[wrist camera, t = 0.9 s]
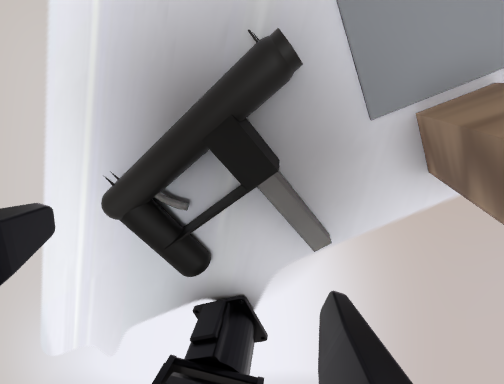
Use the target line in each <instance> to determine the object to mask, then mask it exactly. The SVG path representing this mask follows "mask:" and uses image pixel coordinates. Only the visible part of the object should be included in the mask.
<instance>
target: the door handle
mask: <svg viewBox="0 0 504 384" xmlns="http://www.w3.org/2000/svg"><path fill="white" fill-rule="evenodd" d="M248 32H249V33H250V34H251V36H252V37H253V39H254V40H255V41H256V44H255V45H254V46H253V47H252V48H251V49H250V50H249V51H248V52H247V53H246V54H245V55H244V56H243V57H242V58H241V59H240V60H239V61H238V62H237V63H236V64H235V65H234V66H233V67H232V68H231V69H230V70H229V71H228V72H227V73H226V74H225V75H224V76H223V77H222V78H221V79H220V80H219V81H218V82H217V83H216V84H215V85H214V86H213V87H212V88H211V89H210V90H209V91H208V92H207V93H206V94H205V95H204V96H203V97H202V98H201V99H200V100H199V101H198V102H197V103H196V104H195V105H194V106H193V107H192V108H191V109H190V110H189V111H188V112H187V113H186V114H185V115H184V116H182V117H181V118H180V119H179V120H178V121H177V122H176V123H175V124H174V125H173V126H172V127H171V128H170V129H169V130H168V131H167V132H166V133H165V134H164V135H163V136H162V137H161V138H160V139H159V140H158V141H157V142H156V143H155V144H154V145H153V146H152V147H151V148H150V149H149V150H148V151H147V152H146V153H145V154H144V155H143V156H142V157H141V158H140V159H139V160H138V161H137V162H136V163H135V164H134V165H133V166H132V167H131V168H130V169H129V170H128V171H127V172H126V173H125V174H124V175H123V176H122V177H121V178H120V179H119V178H118V177H117V176H116V175H114V174H113V173H112V172H111V173H112V174H113V175H114V176H115V177H116V178H117V180H118V181H117V182H116V183H115V184H114V183H113V182H111V181H110V180H109V179H107V178H106V177H105V176H104V175H103V176H104V177H105V178H106V179H107V180H108V181H109V182H110V183H111V185H112V187H111V188H110V189H109V190H108V191H107V192H106V193H105V194H104V196H103V198H102V202H101V204H102V209H103V211H104V212H105V214H106V215H108V216H109V217H111V218H113V219H117V220H120V221H121V222H122V223H123V224H125V225H126V226H127V227H128V228H129V229H130V230H131V231H133V232H134V233H135V234H136V235H137V236H138V237H139V238H141V239H142V240H143V241H144V242H145V243H146V244H148V245H149V246H150V247H151V248H152V249H153V250H154V251H156V252H157V253H158V254H159V255H160V256H161V257H163V258H164V259H165V260H166V261H167V262H168V263H169V264H171V265H172V266H173V267H174V268H175V269H176V270H178V271H179V272H180V273H181V274H182V275H184V276H186V277H193V276H197V275H199V274H201V273H202V272H203V271H205V270H206V268H207V267H208V265H209V263H210V260H211V257H210V254H209V252H208V251H207V250H206V249H205V248H204V247H203V246H202V245H200V244H199V243H198V242H197V241H196V240H195V239H194V238H193V237H192V236H191V235H190V233H192V232H193V231H195V230H196V229H197V228H199V227H200V226H202V225H203V224H204V223H206V222H207V221H209V220H210V219H212V218H213V217H214V216H216V215H217V214H219V213H220V212H221V211H223V210H224V209H226V208H227V207H228V206H230V205H231V204H233V203H234V202H236V201H237V200H238V199H240V198H241V197H243V196H244V195H245V194H247V193H248V192H250V191H251V190H253V189H254V188H256V187H258V188H259V189H260V191H261V192H262V193H263V194H264V195H265V196H266V197H267V199H268V200H269V201H270V202H271V203H272V204H273V205H274V206H275V208H276V209H277V210H278V211H279V212H280V213H281V214H282V216H283V217H284V218H285V219H286V220H287V221H288V222H289V223H290V225H291V226H292V227H293V228H294V229H295V230H296V231H297V233H298V234H299V235H300V236H301V237H302V238H303V239H304V240H305V242H306V243H307V244H308V245H309V246H310V247H311V248H312V250H313V251H314V252H315V251H317V250H319V249H321V248H323V247H325V246H327V245H329V244H331V239H330V235H329V233H328V232H327V231H326V229H325V228H324V227H323V226H322V224H321V223H320V222H319V221H318V219H317V218H316V217H315V216H314V214H313V213H312V212H311V211H310V209H309V208H308V207H307V206H306V204H305V203H304V202H303V201H302V199H301V198H300V197H299V196H298V194H297V193H296V192H295V191H294V189H293V188H292V187H291V186H290V184H289V183H288V182H287V181H286V179H285V178H284V177H283V176H282V175H281V173H280V172H279V159H278V158H277V156H276V155H275V154H274V153H273V151H272V150H271V149H270V148H269V146H268V145H267V144H266V142H265V141H264V140H263V139H262V137H261V136H260V135H259V134H258V132H257V131H256V130H255V129H254V127H253V126H252V125H251V124H250V122H249V121H248V120H247V118H246V117H248V116H249V115H250V114H251V113H252V112H253V111H255V110H256V109H257V108H258V107H259V106H260V105H262V104H263V103H264V102H265V101H266V100H267V99H269V98H270V97H271V96H272V95H273V94H274V93H275V92H277V91H278V90H279V89H280V88H281V87H282V86H284V85H285V84H286V83H287V82H288V81H289V80H290V79H291V77H292V75H293V73H294V71H296V70H297V69H298V68H299V67H300V66H301V65H302V64H303V63H302V62H301V60H300V58H299V57H298V55H297V54H296V52H295V51H294V49H293V47H292V46H291V44H290V43H289V42H288V40H287V39H286V37H285V36H284V35H283V33H282V32H281V31H280V29H279V28H278V29H277V30H276V31H275V32H274V33H272V34H271V35H270V36H267V37H264V38H262V39H261V40H259V39H258V38H257V37H256V38H257V39H258V40H257V39H256V38H255V36H256V35H255V34H254V35H255V36H254V35H253V34H252V32H251V31H250V30H248ZM209 149H210V150H211V151H212V152H213V154H214V155H215V156H216V157H217V158H218V159H219V160H220V161H221V162H222V163H223V165H224V166H225V167H226V168H227V169H228V170H229V171H230V172H231V173H232V175H233V176H234V177H235V178H236V179H237V180H238V181H239V182H240V183H241V185H240V186H239V187H238V188H236V189H235V190H233V191H232V192H231V193H229V194H228V195H227V196H225V197H224V198H223V199H221V200H220V201H218V202H217V203H216V204H214V205H213V206H212V207H210V208H209V209H208V210H206V211H205V212H204V213H202V214H201V215H199V216H198V217H197V218H195V219H194V220H193V221H191V222H190V223H189V224H187V225H186V226H184V227H183V228H182V227H181V226H180V225H179V224H178V223H177V222H176V221H175V220H174V219H173V218H172V217H171V216H170V215H169V214H167V213H166V212H165V211H164V210H163V209H162V208H161V207H160V206H159V205H158V204H157V203H156V202H155V201H154V200H153V199H152V198H154V197H155V198H157V199H158V200H160V201H161V202H163V203H165V204H167V205H169V206H172V207H175V208H178V209H182V210H186V211H187V210H188V207H189V204H188V203H185V202H181V201H177V200H174V199H172V198H169V197H167V196H165V195H163V194H162V193H160V192H161V191H162V190H163V189H164V188H165V187H166V186H168V185H169V184H170V183H171V182H172V181H173V180H175V179H176V178H177V177H178V176H179V175H180V174H181V173H183V172H184V171H185V170H186V169H187V168H188V167H190V166H191V165H192V164H193V163H194V162H195V161H197V160H198V159H199V158H200V157H201V156H202V155H204V154H205V153H206V152H207V151H208V150H209Z"/></svg>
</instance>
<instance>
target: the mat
mask: <svg viewBox="0 0 504 384" xmlns="http://www.w3.org/2000/svg"><path fill="white" fill-rule="evenodd" d="M337 3H338V6H339V10H340V13H341V17H342V20H343V24H344V27H345V31H346V34H347V38H348V42H349V45H350V49H351V52H352V56H353V59H354V63H355V66H356V70H357V73H358V77H359V80H360V84H361V88H362V91H363V95H364V98H365V102H366V105H367V109H368V112H369V116H370V119H371V120H373V119H376V118H378V117H381V116H384V115H386V114H389V113H391V112H394V111H396V110H399V109H401V108H404V107H406V106H409V105H411V104H414V103H416V102H419V101H422V100H424V99H427V98H429V97H432V96H434V95H437V94H439V93H442V92H444V91H447V90H449V89H452V88H454V87H457V86H459V85H462V84H465V83H467V82H470V81H472V80H475V79H477V78H480V77H482V76H485V75H487V74H490V73H492V72H495V71H497V70H500V69H503V68H504V0H337Z"/></svg>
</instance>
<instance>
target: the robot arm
mask: <svg viewBox="0 0 504 384" xmlns="http://www.w3.org/2000/svg"><path fill="white" fill-rule="evenodd" d="M54 231H55V222H54V214H53V209H52V208H51V207H50V206H47V205H43V204H40V203H33V204H26V205H20V206H14V207H8V208H2V209H0V285H2V284H3V283H4V282H5V281H6V280H8V279H9V278H10V277H11V276H12V275H13V274H14V273H15V272H16V271H17V270H18V269H19V268H20V267H21V266H22V265H23V264H24V263H25V262H26V261H27V260H28V259H29V258H30V257H31V256H32V255H33V254H34V253H35V252H36V251H37V250H38V249H39V248H40V247H41V246H42V245H43V244H44V243H45V242H46V241H47V240H48V239H49V238H50V237H51V236H52V235H53V233H54ZM241 300H242V301H241ZM193 313H194V314H195V316H196V317H197V319H198V321H197V323H196V326H195V328H194V330H193V333H192V335H191V338H190V341H191V344H190V346H189V349H188V351H187V354H186V356H185V359H181V358H177V357H176V356H174V355H170V356H169V358H168V360H167V361H166V363H164V364H163V366H162V368H161V369H160V371H159V373H158V374H157V376H156V378H155V380H154V381H153V383H152V384H263V383H264V378H263V377H258V378H257V377H253V376H249V374H250V367H251V360H252V354H253V347H254V343H255V342H262V341H266V340H267V336H268V335H267V333H266V331H265V329H264V328H263V326H262V324H261V323H260V321H259V319H258V317H257V316H256V314H255V312H254V311H253V309H252V307H251V305H250V304H249V302H248V300H247V299H246V297H244V296H237V297H232V298H228V299H223V300H219V301H214V302H210V303H206V304H201V305H197V306H195V307H194V309H193ZM319 327H320V328H319V358H318V360H319V361H318V374H319V384H413V383H412V382H411V381H410V379H409V378H408V377H407V375H406V374H405V373H404V371H403V370H402V369H401V367H400V366H399V365H398V363H397V362H396V361H395V360H394V358H393V357H392V355H391V354H390V353H389V351H388V350H387V349H386V347H385V346H384V345H383V343H382V342H381V341H380V340H379V338H378V337H377V336H376V334H375V333H374V331H373V330H372V329H371V327H370V326H369V325H368V323H367V322H366V321H365V320H364V318H363V317H362V315H361V314H360V313H359V312H358V310H357V309H356V308H355V306H354V305H353V304H352V302H351V301H350V300H349V298H348V297H347V296H346V295H345V294H343V293H339V292H336V291H331V292H330V293H329V295H328V297H327V299H326V301H325V303H324V305H323V307H322V309H321V312H320V326H319Z"/></svg>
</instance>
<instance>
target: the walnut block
mask: <svg viewBox="0 0 504 384" xmlns="http://www.w3.org/2000/svg"><path fill="white" fill-rule="evenodd" d="M416 116H417V121H418V125H419V130H420V134H421V139H422V143H423V148H424V152H425V157H426V162H427V166H428V171H429V173H431V174H432V175H434V176H435V177H436V178H438V179H439V180H441V181H442V182H444V183H445V184H446V185H448V186H449V187H451V188H452V189H453V190H455V191H456V192H458V193H459V194H461V195H462V196H464V197H465V198H466V199H468V200H469V201H471V202H472V203H473V204H475V205H476V206H478V207H479V208H481V209H482V210H483V211H485V212H486V213H488V214H489V215H490V216H492V217H493V218H495V219H496V220H498V221H499V222H500V223H502V224H503V225H504V83H494V84H492V85H489V86H486V87H484V88H481V89H479V90H476V91H473V92H471V93H468V94H465V95H463V96H460V97H458V98H455V99H452V100H450V101H447V102H445V103H442V104H439V105H437V106H434V107H432V108H429V109H426V110H424V111H421V112H418V113H416Z"/></svg>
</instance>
